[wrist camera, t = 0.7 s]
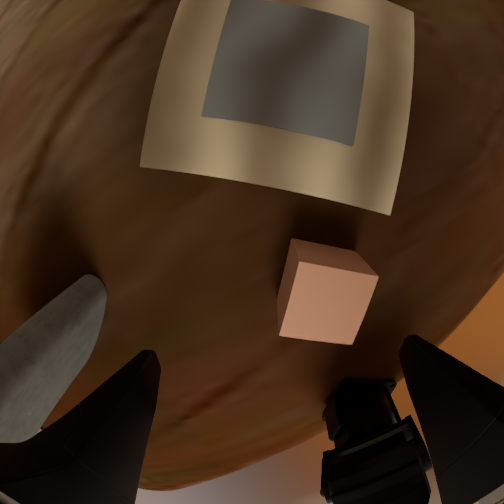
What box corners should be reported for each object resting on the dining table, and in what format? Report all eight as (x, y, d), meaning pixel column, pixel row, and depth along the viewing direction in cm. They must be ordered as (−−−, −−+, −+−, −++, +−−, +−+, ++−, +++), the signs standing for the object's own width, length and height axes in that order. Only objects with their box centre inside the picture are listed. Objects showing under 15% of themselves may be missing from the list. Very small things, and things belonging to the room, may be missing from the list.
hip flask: (85, 267, 21) (-78, 412, 2) (119, 293, 22) (-26, 474, 3) (58, 361, 26) (-23, 470, 7) (83, 380, 26) (10, 499, 7)
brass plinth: (398, 26, 14) (414, 11, 11) (373, 208, 19) (391, 216, 16) (202, -13, 14) (194, -34, 11) (157, 165, 19) (138, 167, 15)
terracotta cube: (354, 250, 20) (378, 276, 15) (336, 308, 21) (351, 344, 17) (291, 237, 20) (299, 261, 15) (276, 298, 21) (279, 335, 17)
